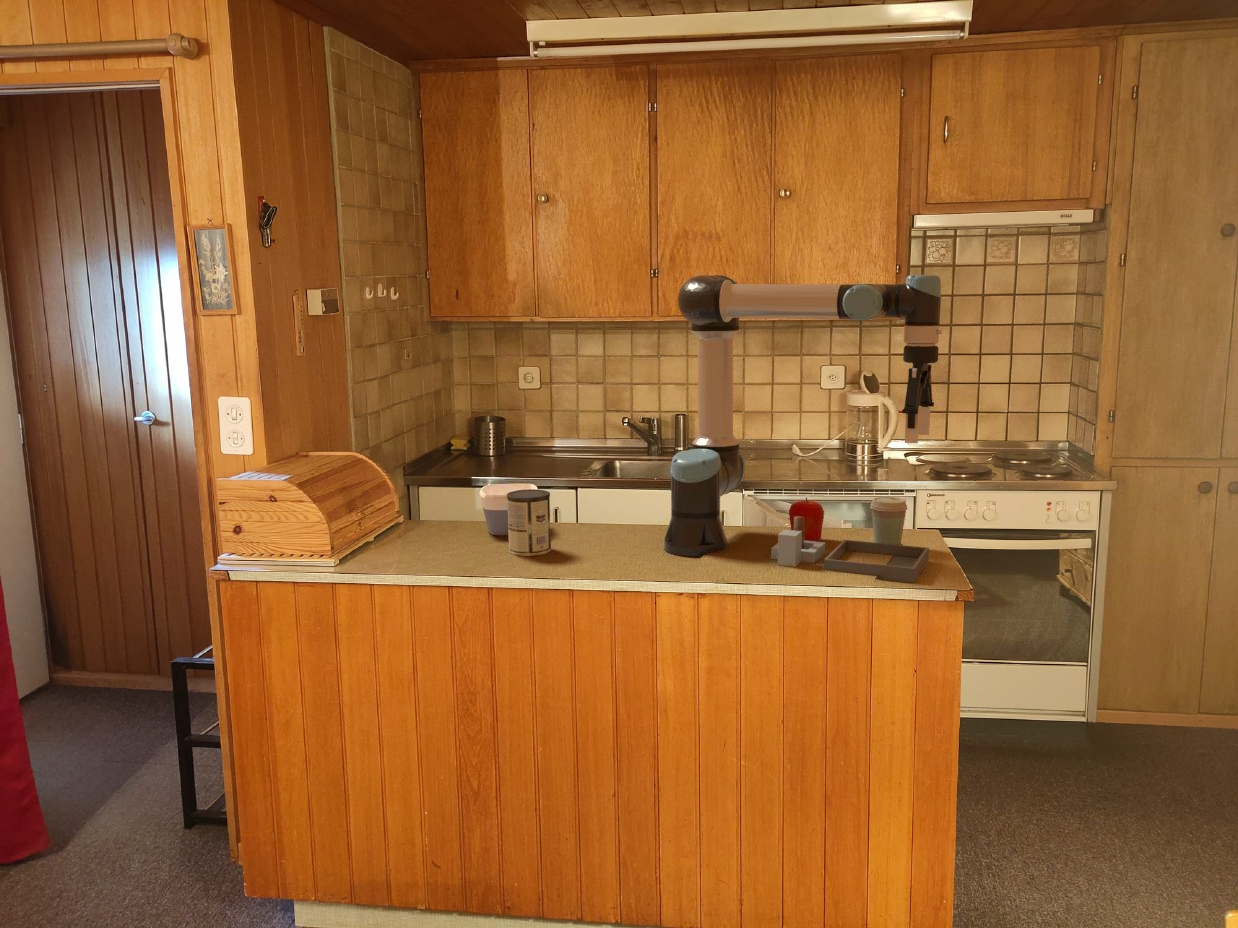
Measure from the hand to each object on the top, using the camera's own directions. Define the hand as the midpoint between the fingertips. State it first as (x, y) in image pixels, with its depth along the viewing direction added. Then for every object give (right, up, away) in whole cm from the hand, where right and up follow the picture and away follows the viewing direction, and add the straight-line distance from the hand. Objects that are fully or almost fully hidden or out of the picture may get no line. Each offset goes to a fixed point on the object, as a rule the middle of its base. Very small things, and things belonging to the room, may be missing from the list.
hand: (917, 438), depth 236 cm
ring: (-27, -27, +2) cm, 39 cm away
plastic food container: (-96, -23, +34) cm, 104 cm away
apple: (-22, -25, +17) cm, 38 cm away
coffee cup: (-4, -26, +12) cm, 29 cm away
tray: (-10, -29, -4) cm, 31 cm away
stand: (-26, -28, +4) cm, 38 cm away
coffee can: (-89, -27, +14) cm, 94 cm away
